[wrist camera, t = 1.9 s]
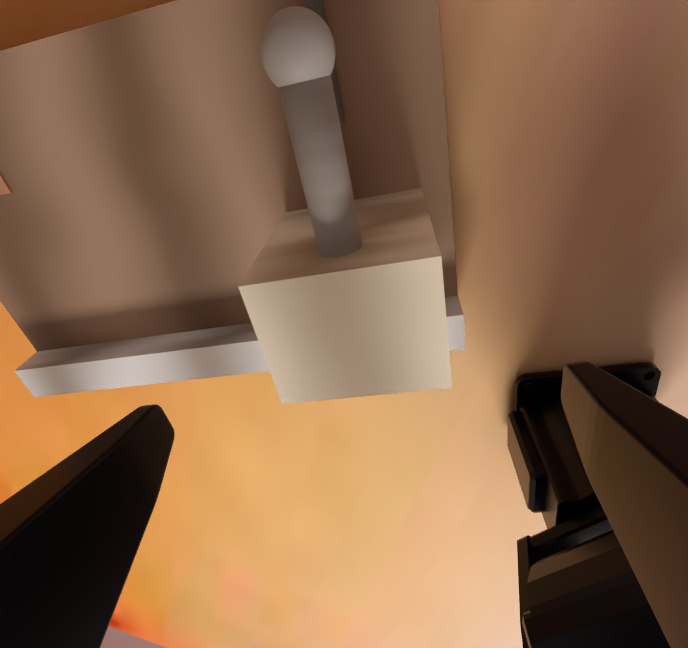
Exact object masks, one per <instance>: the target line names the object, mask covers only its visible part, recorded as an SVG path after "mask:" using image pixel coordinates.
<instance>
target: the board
mask: <svg viewBox="0 0 688 648" xmlns="http://www.w3.org/2000/svg"><path fill="white" fill-rule="evenodd" d="M291 6H300V7H305V8H308V9H310V10H312V11H314V12H315V13H317V14H318V15H319V16H320V17H321V18H322V19H323V20H324V21H325V22H326V24H327V26H328V27H329V29H330V31H331V33H332V36H333V39H334V43H335V51H336V56H335V64H334V68H333V71H332V73H331V78H332V83H333V89H334V94H335V99H336V105H337V110H338V115H339V121H340V126H341V131H342V137H343V142H344V147H345V153H346V158H347V163H348V169H349V174H350V179H351V185H352V190H353V195H354V200H357V199H363V198H368V197H374V196H379V195H385V194H391V193H396V192H402V191H407V190H413V189H418V188H421V189H422V192H423V196H424V199H425V202H426V206H427V209H428V212H429V216H430V219H431V223H432V226H433V229H434V233H435V236H436V240H437V243H438V246H439V250H440V253H441V258H442V270H443V282H444V294H445V306H446V318H447V330H448V342H449V351H454V350H463V349H466V346H465V329H464V314H463V311H462V308H461V305H460V301H459V298H458V293H457V278H456V262H455V247H454V231H453V216H452V200H451V185H450V170H449V154H448V139H447V123H446V108H445V92H444V77H443V61H442V46H441V31H440V15H439V0H175V1H171V2H168V3H165V4H161V5H158V6H154V7H151V8H147V9H144V10H140V11H137V12H133V13H130V14H126V15H123V16H119V17H116V18H112V19H109V20H106V21H102V22H99V23H95V24H92V25H88V26H85V27H81V28H78V29H74V30H71V31H67V32H64V33H60V34H57V35H53V36H50V37H46V38H43V39H40V40H36V41H33V42H29V43H26V44H22V45H19V46H15V47H12V48H8V49H5V50H1V51H0V301H1V302H2V304H3V305H4V307H5V308H6V309H7V311H8V312H9V313H10V315H11V316H12V318H13V319H14V320H15V322H16V323H17V324H18V326H19V327H20V329H21V330H22V331H23V333H24V334H25V335H26V337H27V338H28V340H29V341H30V342H31V344H32V345H33V346H34V348H35V349H36V351H37V352H36V353H35V354H34V355H33V356H31V357H30V358H29V359H28V360H27V361H25V362H24V363H23V364H22V365H21V366H19V367H18V368H17V369H16V370H15V371H14V372H15V373H16V374H17V375H18V377H19V378H20V379H21V381H22V382H23V383H24V384H25V386H26V387H27V388H28V389H29V391H30V392H31V393H32V395H33V396H34V397H40V396H49V395H58V394H67V393H76V392H85V391H94V390H103V389H112V388H121V387H130V386H139V385H148V384H157V383H166V382H175V381H184V380H193V379H202V378H211V377H220V376H229V375H238V374H247V373H256V372H265V371H270V370H269V368H268V365H267V362H266V360H265V357H264V354H263V352H262V349H261V346H260V344H259V341H258V338H257V336H256V333H255V330H254V328H253V325H252V322H251V320H250V317H249V314H248V312H247V309H246V306H245V304H244V301H243V298H242V296H241V293H240V290H239V288H238V286H239V285H240V283H241V281H242V280H243V278H244V277H245V275H246V274H247V272H248V271H249V269H250V267H251V266H252V264H253V263H254V261H255V260H256V258H257V256H258V255H259V253H260V252H261V250H262V249H263V247H264V246H265V244H266V242H267V241H268V239H269V238H270V236H271V235H272V233H273V232H274V230H275V228H276V227H277V225H278V224H279V222H280V221H281V219H282V218H283V216H284V214H285V213H286V212H291V211H296V210H302V209H307V208H308V206H307V202H306V198H305V194H304V190H303V186H302V182H301V178H300V174H299V170H298V166H297V162H296V158H295V154H294V150H293V146H292V142H291V138H290V134H289V130H288V126H287V122H286V118H285V114H284V110H283V106H282V102H281V98H280V94H279V90H278V87H277V86H276V85H275V84H274V83H273V82H272V81H271V79H270V78H269V77H268V75H267V73H266V71H265V69H264V67H263V63H262V60H261V53H260V43H261V37H262V33H263V30H264V28H265V26H266V24H267V22H268V21H269V20H270V18H271V17H272V16H273V15H274V14H275V13H277V12H278V11H280V10H281V9H284V8H286V7H291Z"/></svg>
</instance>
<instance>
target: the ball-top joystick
mask: <svg viewBox="0 0 688 648" xmlns="http://www.w3.org/2000/svg"><path fill="white" fill-rule="evenodd" d="M260 53H261V60H262V63H263V67H264V69H265V71H266V73H267V75H268V77H269V78H270V79H271V81H272V82H273V83H274V84H275V85H276V86H277V87H278V90H279V94H280V98H281V102H282V106H283V110H284V114H285V118H286V122H287V126H288V130H289V134H290V138H291V142H292V146H293V150H294V154H295V158H296V162H297V166H298V170H299V174H300V178H301V182H302V186H303V190H304V194H305V198H306V202H307V206H308V208H307V209H302V210H296V211H291V212H286V213H285V214H284V216H283V218H282V219H281V221H280V222H279V224H278V225H277V227H276V228H275V230H274V232H273V233H272V235H271V236H270V238H269V239H268V241H267V242H266V244H265V246H264V247H263V249H262V250H261V252H260V253H259V255H258V256H257V258H256V260H255V261H254V263H253V264H252V266H251V267H250V269H249V271H248V272H247V274H246V275H245V277H244V278H243V280H242V281H241V283H240V285H239V286H238V288H239V290H240V293H241V296H242V298H243V301H244V304H245V306H246V309H247V312H248V314H249V317H250V320H251V322H252V325H253V328H254V330H255V333H256V336H257V338H258V341H259V344H260V346H261V349H262V352H263V354H264V357H265V360H266V362H267V365H268V368H269V370H270V373H271V376H272V378H273V381H274V384H275V386H276V389H277V392H278V394H279V397H280V400H281V402H282V404H287V403H298V402H308V401H319V400H329V399H340V398H350V397H361V396H371V395H381V394H392V393H402V392H413V391H423V390H434V389H444V388H452V378H451V366H450V354H449V342H448V330H447V318H446V306H445V294H444V282H443V270H442V258H441V253H440V250H439V246H438V243H437V240H436V236H435V233H434V229H433V226H432V223H431V219H430V216H429V212H428V209H427V206H426V202H425V199H424V196H423V192H422V189H421V188H418V189H413V190H407V191H402V192H396V193H391V194H385V195H379V196H374V197H368V198H363V199H357V200H354V195H353V190H352V185H351V179H350V174H349V169H348V163H347V158H346V153H345V147H344V142H343V137H342V131H341V126H340V121H339V115H338V110H337V105H336V99H335V94H334V89H333V83H332V78H331V73H332V71H333V68H334V64H335V56H336V51H335V43H334V39H333V36H332V33H331V31H330V29H329V27H328V26H327V24H326V22H325V21H324V20H323V19H322V18H321V17H320V16H319V15H318V14H317V13H315V12H314V11H312V10H310V9H308V8H305V7H300V6H291V7H286V8H284V9H281V10H280V11H278V12H277V13H275V14H274V15H273V16H272V17H271V18H270V20H269V21H268V22H267V24H266V26H265V28H264V30H263V33H262V37H261V43H260Z"/></svg>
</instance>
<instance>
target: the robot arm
mask: <svg viewBox="0 0 688 648" xmlns="http://www.w3.org/2000/svg"><path fill="white" fill-rule="evenodd" d="M647 372H649V373H647ZM645 373H647V374H645ZM660 375H661V372H660V370H659V369H658V368H657V367H656V366H655V364H653V363H650V362H645V363H635V364H625V365H615V366H604V367H597V366H595V365H593V364H592V363H589V362H575V363H567V364H566V365H565V366H564V369H563V371H554V372H543V373H533V374H524V375H521V376H519V377H518V378H517V379H516V380H515V398H514V411H511V412H510V413H509V414H508V448H509V451H510V455H511V458H512V461H513V464H514V467H515V470H516V473H517V476H518V479H519V483H520V486H521V489H522V492H523V495H524V498H525V501H526V504H527V507H528V509H530V510H531V511H532V512H533V513H536V512H542V514H543V517H544V520H545V523H546V526H547V530H544V531H542V532H540V533H538V534H536V535H533V536H531V537H530V536H526V537H523V538H521V539H519V540H517V551H518V576H519V600H520V625H521V633H522V641H523V648H688V419H687V418H686V417H684V416H682V415H680V414H679V413H677V412H675V411H673V410H672V409H670V408H668V407H666V406H665V405H663V404H661V403H659V402H658V401H657V399H656V398H655V395H656V391H657V387H658V383H659V379H660ZM526 383H530V384H528V385H526V386H523V385H524V384H526ZM173 441H174V429H173V427H172V425H171V423H170V422H169V420H168V418H167V416H166V415H165V413H164V411H163V409H162V408H161V407H160V406H158V405H146V406H141V407H139V408H137V409H136V410H134V411H133V412H131V413H130V414H129V415H127V416H126V417H124V418H123V419H121V420H120V421H119V422H117V423H116V424H114V425H113V426H111V427H110V428H109V429H107V430H106V431H104V432H103V433H101V434H100V435H99V436H97V437H96V438H94V439H93V440H91V441H90V442H89V443H87V444H86V445H84V446H83V447H81V448H80V449H78V450H77V451H76V452H74V453H73V454H71V455H70V456H68V457H67V458H66V459H64V460H63V461H61V462H60V463H58V464H57V465H56V466H54V467H53V468H51V469H50V470H48V471H47V472H46V473H44V474H43V475H41V476H40V477H38V478H37V479H36V480H34V481H33V482H31V483H30V484H28V485H27V486H26V487H24V488H23V489H21V490H20V491H18V492H17V493H16V494H14V495H13V496H11V497H10V498H8V499H7V500H5V501H4V502H3V503H1V504H0V648H100V647H101V644H102V641H103V639H104V636H105V633H106V631H107V628H108V626H109V623H110V621H111V618H112V615H113V613H114V610H115V608H116V605H117V602H118V600H119V597H120V595H121V592H122V589H123V587H124V584H125V582H126V579H127V576H128V574H129V571H130V569H131V566H132V563H133V561H134V558H135V556H136V553H137V550H138V548H139V545H140V543H141V540H142V537H143V535H144V532H145V530H146V527H147V524H148V522H149V519H150V517H151V514H152V512H153V509H154V506H155V503H156V501H157V498H158V494H159V491H160V488H161V484H162V481H163V477H164V473H165V470H166V466H167V463H168V459H169V455H170V452H171V448H172V444H173Z"/></svg>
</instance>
